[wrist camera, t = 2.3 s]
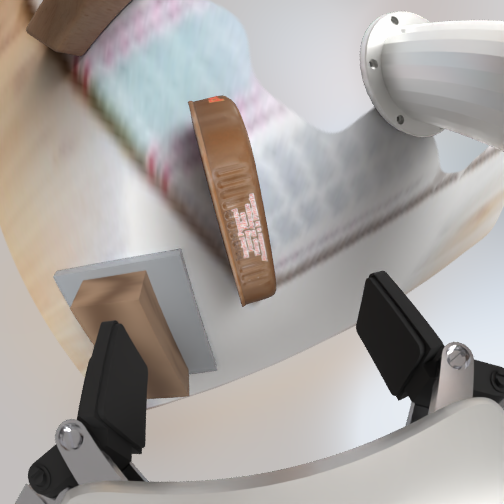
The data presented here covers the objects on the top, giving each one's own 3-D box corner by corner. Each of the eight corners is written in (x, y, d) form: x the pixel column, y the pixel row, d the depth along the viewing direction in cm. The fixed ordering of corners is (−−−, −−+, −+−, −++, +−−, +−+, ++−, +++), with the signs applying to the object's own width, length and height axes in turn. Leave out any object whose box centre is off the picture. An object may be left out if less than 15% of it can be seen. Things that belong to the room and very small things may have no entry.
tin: (187, 101, 18) (175, 104, 11) (229, 92, 18) (243, 89, 11) (229, 264, 26) (240, 332, 19) (262, 257, 26) (283, 321, 19)
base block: (145, 270, 24) (138, 299, 20) (188, 369, 33) (189, 396, 29) (82, 280, 23) (70, 308, 20) (138, 373, 32) (136, 399, 29)
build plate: (180, 248, 24) (180, 254, 24) (216, 364, 34) (216, 370, 33) (56, 271, 23) (53, 276, 22) (120, 372, 33) (119, 378, 32)
